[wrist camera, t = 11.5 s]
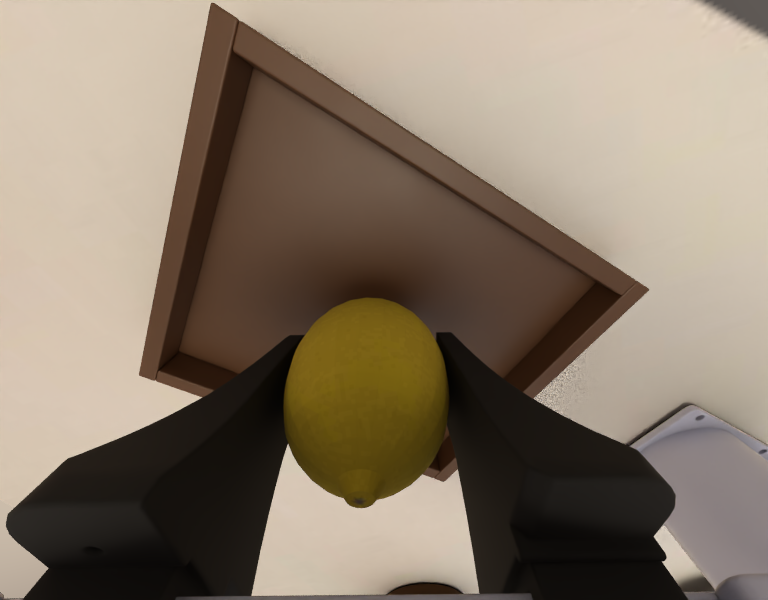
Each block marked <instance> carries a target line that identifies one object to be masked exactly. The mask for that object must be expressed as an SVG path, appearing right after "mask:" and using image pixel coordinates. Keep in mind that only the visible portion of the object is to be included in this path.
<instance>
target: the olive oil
mask: <svg viewBox="0 0 768 600" xmlns="http://www.w3.org/2000/svg"><path fill="white" fill-rule="evenodd" d="M416 594H461V593H460V592H459V591H458V590H456V589H454V588H451V587H448V586H444V585H438V584H416V585H409V586H405V587H401V588H399V589H396V590H394V591H392V592H391V593H389V594H388V595H416Z"/></svg>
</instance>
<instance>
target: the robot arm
mask: <svg viewBox="0 0 768 600" xmlns="http://www.w3.org/2000/svg"><path fill="white" fill-rule="evenodd" d="M303 337H304V335H289V336H288V337H286V338H285V339H284V340H282V341H281V342H280V343H279V344H277V345H276V346H275V347H274V348H272V349H271V350H270V351H269V352H267V353H266V354H265V355H264V356H262V357H261V358H260V359H259V360H257V361H256V362H255V363H253V364H252V365H251V366H249V367H248V368H247V369H245V370H244V371H242V372H241V373H240V374H238V375H237V376H235V377H234V378H233V379H231V380H230V381H228V382H227V383H225V384H224V385H222V386H221V387H219V388H217V389H216V390H214V391H213V392H211V393H209V394H208V395H206V396H204V397H203V398H201V399H199V400H197V401H195V402H194V403H192V404H190V405H188V406H186V407H184V408H182V409H181V410H179V411H177V412H175V413H173V414H171V415H169V416H167V417H165V418H163V419H161V420H159V421H157V422H155V423H153V424H151V425H149V426H146V427H144V428H142V429H140V430H137V431H135V432H133V433H131V434H128V435H126V436H124V437H121V438H119V439H117V440H114V441H112V442H109V443H107V444H104V445H102V446H99V447H97V448H94V449H92V450H89V451H87V452H84V453H82V454H79V455H76V456H74V457H71V458H68V459H67V460H65V461H64V462H63V463H62V464H61V465H60V466H59V467H58V468H57V469H56V470H55V471H54V472H53V473H51V474H50V475H49V476H48V477H47V478H46V479H45V480H44V481H43V482H42V483H41V484H40V485H39V486H37V487H36V488H35V489H34V490H33V491H32V492H31V493H30V494H29V495H28V496H27V497H26V498H25V499H24V500H22V501H21V502H20V503H19V504H18V505H17V506H16V507H15V508H14V509H13V510H12V511H11V512H10V513H9V514H8V516H7V521H6V527H7V530H8V532H9V534H10V535H11V536H12V537H13V538H14V539H15V541H17V542H18V543H19V544H20V545H21V546H22V547H24V548H25V549H26V550H27V551H29V552H30V553H31V554H32V555H33V556H35V557H36V558H37V559H38V560H40V561H41V562H42V563H43V564H44V565H46V566H47V567H48V568H49V569H48V570H47V571H46V572H45V573H44V575H43V576H42V577H41V578H40V579H39V580H38V582H37V583H36V584H35V585H34V587H33V588H32V589H31V590H30V591H29V593H28V594H27V595H26V596H25V597H24V598H16V599H15V598H14V599H13V598H12V599H11V598H10V599H4V595H3V594H2V593H1V592H0V600H768V445H766V444H765V443H763V442H761V441H759V440H757V439H755V438H754V437H752V436H750V435H748V434H746V433H745V432H743V431H741V430H739V429H737V428H736V427H734V426H732V425H730V424H728V423H726V422H725V421H723V420H721V419H719V418H717V417H716V416H714V415H712V414H710V413H708V412H706V411H705V410H703V409H701V408H699V407H697V406H695V405H690V406H687V407H685V408H683V409H682V410H681V411H679V412H678V413H676V414H675V415H673V416H672V417H671V418H669V419H668V420H666V421H665V422H663V423H662V424H661V425H659V426H658V427H656V428H655V429H653V430H652V431H651V432H649V433H648V434H646V435H645V436H643V437H642V438H641V439H639V440H638V441H636V442H635V443H633V444H632V445H631V446H627V445H625V444H622V443H620V442H618V441H616V440H613V439H611V438H609V437H606V436H604V435H602V434H599V433H597V432H595V431H593V430H590V429H588V428H586V427H584V426H582V425H580V424H578V423H576V422H574V421H572V420H570V419H568V418H566V417H564V416H562V415H561V414H559V413H557V412H555V411H553V410H551V409H550V408H548V407H546V406H544V405H543V404H541V403H539V402H538V401H536V400H534V399H533V398H531V397H529V396H528V395H526V394H525V393H523V392H522V391H520V390H519V389H517V388H516V387H514V386H513V385H511V384H510V383H509V382H507V381H506V380H504V379H503V378H502V377H500V376H499V375H498V374H497V373H495V372H494V371H493V370H492V369H490V368H489V367H488V366H487V365H486V364H484V363H483V362H482V361H481V360H480V359H479V358H478V357H476V356H475V355H474V354H473V353H472V352H471V351H470V350H469V349H468V348H467V347H466V346H465V345H464V344H463V343H462V342H461V341H460V340H459V339H458V338H457V337H456V336H455V335H454V334H453V333H452V332H436V342H437V344H438V346H439V348H440V350H441V353H442V355H443V359H444V363H445V368H446V373H447V378H448V385H449V410H448V418H447V427H448V431H449V434H450V437H451V441H452V444H453V448H454V452H455V456H456V461H457V466H458V471H459V476H460V481H461V487H462V492H463V498H464V503H465V508H466V514H467V520H468V525H469V531H470V537H471V543H472V549H473V555H474V561H475V567H476V574H477V580H478V586H479V593H480V594H416V595H314V596H251V594H252V589H253V584H254V579H255V575H256V570H257V565H258V560H259V555H260V550H261V546H262V541H263V537H264V532H265V528H266V524H267V519H268V515H269V511H270V507H271V503H272V499H273V495H274V490H275V486H276V483H277V479H278V475H279V471H280V468H281V464H282V460H283V457H284V454H285V451H286V448H287V445H288V441H287V438H286V434H285V427H284V410H283V406H284V391H285V385H286V380H287V376H288V372H289V369H290V366H291V363H292V359H293V356H294V354H295V351H296V349H297V347H298V345H299V343H300V342H301V340H302V339H303ZM663 524H664V525H665V527H666V528H667V529H668V531H669V532H670V533H671V534H672V536H673V537H674V538H675V539H676V541H677V542H678V543H679V545H680V546H681V547H682V548H683V550H684V551H685V552H686V554H687V555H688V556H689V557H690V559H691V560H692V561H693V562H694V564H695V565H696V566H697V568H698V569H699V570H700V571H701V573H702V574H703V575H704V576H705V578H706V579H707V580H708V582H709V583H710V584H711V585H712V587H713V588H714V589H715V592H683V591H682V590H681V588H680V587H679V586H678V584H677V583H676V581H675V580H674V578H673V577H672V576H671V574H670V573H669V571H668V570H667V569H666V567H665V566H664V564H663V563H662V561H665V560H666V554H665V552H664V551H663V549H662V548H661V547H660V545H659V544H658V542H657V541H656V540H655V538H654V537H653V536H654V535H655V534H656V533H657V531H658V530H659V529H660V528H661V526H662V525H663Z"/></svg>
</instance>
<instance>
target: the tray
mask: <svg viewBox="0 0 768 600" xmlns="http://www.w3.org/2000/svg"><path fill="white" fill-rule="evenodd" d="M648 291H649V289H648V288H647V287H645V286H644V285H642V284H641V283H639V282H638V281H635V280H634V279H633V278H631V277H630V276H628V275H627V274H625V273H624V272H622V271H621V270H619V269H618V268H616V267H615V266H613V265H612V264H610V263H609V262H607V261H606V260H604V259H603V258H601V257H599V256H598V255H596V254H595V253H593V252H592V251H590V250H589V249H587V248H586V247H584V246H583V245H581V244H580V243H578V242H577V241H575V240H574V239H572V238H571V237H569V236H568V235H566V234H564V233H563V232H561V231H560V230H558V229H557V228H555V227H554V226H552V225H551V224H549V223H548V222H546V221H545V220H543V219H542V218H540V217H539V216H537V215H536V214H534V213H533V212H531V211H530V210H528V209H526V208H525V207H523V206H522V205H520V204H519V203H517V202H516V201H514V200H513V199H511V198H510V197H508V196H507V195H505V194H504V193H502V192H501V191H499V190H498V189H496V188H495V187H493V186H491V185H490V184H488V183H487V182H485V181H484V180H482V179H481V178H479V177H478V176H476V175H475V174H473V173H472V172H470V171H469V170H467V169H466V168H464V167H463V166H461V165H460V164H458V163H456V162H455V161H453V160H452V159H450V158H449V157H447V156H446V155H444V154H443V153H441V152H440V151H438V150H437V149H435V148H434V147H432V146H431V145H429V144H428V143H426V142H425V141H423V140H421V139H420V138H418V137H417V136H415V135H414V134H412V133H411V132H409V131H408V130H406V129H405V128H403V127H402V126H400V125H399V124H397V123H396V122H394V121H393V120H391V119H390V118H388V117H387V116H385V115H383V114H382V113H380V112H379V111H377V110H376V109H374V108H373V107H371V106H370V105H368V104H367V103H365V102H364V101H362V100H361V99H359V98H358V97H356V96H355V95H353V94H352V93H350V92H348V91H347V90H345V89H344V88H342V87H341V86H339V85H338V84H336V83H335V82H333V81H332V80H330V79H329V78H327V77H326V76H324V75H323V74H321V73H320V72H318V71H317V70H315V69H313V68H312V67H310V66H309V65H307V64H306V63H304V62H303V61H301V60H300V59H298V58H297V57H295V56H294V55H292V54H291V53H289V52H288V51H286V50H285V49H283V48H282V47H280V46H278V45H277V44H275V43H274V42H272V41H271V40H269V39H268V38H266V37H265V36H263V35H262V34H260V33H259V32H257V31H256V30H254V29H253V28H251V27H250V26H248V25H247V24H245V23H243V22H241V21H239V20H238V19H237V18H236V17H234V16H233V15H231V14H230V13H228V12H227V11H225V10H224V9H222V8H221V7H219V6H218V5H216V4H215V3H211V6H210V11H209V16H208V21H207V26H206V31H205V37H204V42H203V47H202V52H201V57H200V62H199V67H198V73H197V78H196V83H195V88H194V93H193V98H192V104H191V109H190V114H189V119H188V124H187V129H186V135H185V140H184V145H183V150H182V155H181V160H180V166H179V171H178V176H177V181H176V186H175V191H174V196H173V202H172V207H171V212H170V217H169V222H168V227H167V233H166V238H165V243H164V248H163V253H162V258H161V264H160V269H159V274H158V279H157V284H156V289H155V294H154V300H153V305H152V310H151V315H150V320H149V325H148V331H147V336H146V341H145V346H144V351H143V356H142V362H141V367H140V372H139V375H140V376H142V377H145V378H148V379H151V380H154V381H155V380H156V381H157V382H160V383H163V384H166V385H168V386H171V387H174V388H177V389H180V390H183V391H186V392H189V393H191V394H194V395H197V396H200V397H204V396H206V395H208V394H209V393H211V392H213V391H214V390H216V389H217V388H219V387H221V386H222V385H224V384H225V383H227V382H228V381H230V380H231V379H233V378H234V377H235V376H237V375H238V374H240V373H241V372H242V371H244V370H245V369H247V368H248V367H249V366H251V365H252V364H253V363H255V362H256V361H257V360H259V359H260V358H261V357H262V356H264V355H265V354H266V353H267V352H269V351H270V350H271V349H272V348H274V347H275V346H276V345H277V344H279V343H280V342H281V341H282V340H284V339H285V338H286V337H288V336H289V335H304V336H305V335H306V333H307V332H308V331H309V329H310V328H311V326H312V325H313V324H314V323H315V322H316V321H317V320H318V319H319V318H320V317H322V316H323V315H324V314H326V313H327V312H328V311H329V310H331V309H332V308H333V307H336V306H338V305H340V304H343V303H345V302H347V301H350V300H354V299H360V298H381V299H385V300H389V301H392V302H395V303H398V304H400V305H401V306H403V307H405V308H406V309H408V310H410V311H412V312H413V313H414V314H415V315H416V316H417V317H418V318H419V319H420V320H421V321H422V322H423V323H424V324H425V325H426V326H427V327H428V329H429V330H430V332H431V333H432V335H433V337H434V339H435V341H436V332H452V333H453V334H454V335H455V336H456V337H457V338H458V339H459V340H460V341H461V342H462V343H463V344H464V345H465V346H466V347H467V348H468V349H469V350H470V351H471V352H472V353H473V354H474V355H475V356H476V357H478V358H479V359H480V360H481V361H482V362H483V363H484V364H486V365H487V366H488V367H489V368H490V369H492V370H493V371H494V372H495V373H497V374H498V375H499V376H500V377H502V378H503V379H504V380H506V381H507V382H509V383H510V384H511V385H513V386H514V387H516V388H517V389H519V390H520V391H522V392H523V393H525V394H526V395H528V396H529V397H531V398H534V397H535V396H536V395H537V394H538V393H540V392H541V391H542V390H543V389H544V388H545V387H546V386H547V385H548V384H549V383H550V382H551V381H552V380H553V379H554V378H556V377H557V376H558V375H559V374H560V373H561V372H562V371H563V370H564V369H565V368H566V367H567V366H568V365H569V364H571V363H572V362H573V361H574V360H575V359H576V358H577V357H578V356H579V355H580V354H581V353H582V352H583V351H584V350H586V349H587V348H588V347H589V346H590V345H591V344H592V343H593V342H594V341H595V340H596V339H597V338H598V337H599V336H600V335H602V334H603V333H604V332H605V331H606V330H607V329H608V328H609V327H610V326H611V325H612V324H613V323H614V322H615V321H617V320H618V319H619V318H620V317H621V316H622V315H623V314H624V313H625V312H626V311H627V310H628V309H629V308H630V307H632V306H633V305H634V304H635V303H636V302H637V301H638V300H639V299H640V298H641V297H642V296H643V295H644V294H645V293H646V292H648ZM457 469H458V466H457V461H456V456H455V452H454V448H453V444H452V441H451V437H450V434H449V431H448V427H447V425H446V431H445V435H444V439H443V442H442V444H441V446H440V448H439V450H438V452H437V454H436V456H435V458H434V460H433V462H432V463H431V464H430V466H429V467H428V468H427V470H426V471H425V472H424V473H423V475H426V476H429V477H432V478H435V479H437V480H440V481H443V482H444V481H445V480H446V479H448V478H449V477H450V476H451V475H452V474H453V473H454V472H455V471H456V470H457Z"/></svg>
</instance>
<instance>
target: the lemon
mask: <svg viewBox="0 0 768 600" xmlns="http://www.w3.org/2000/svg"><path fill="white" fill-rule="evenodd" d="M283 410H284V427H285V434H286V438H287V441H288V444H289V446H290V449H291V451H292V454H293V456H294V458H295V459H296V461H297V463H298V465H299V466H300V467H301V468H302V469H303V471H304V472H305V473H306V474H307V475H308V476H309V477H310V479H311V480H312V481H313V482H315V483H316V484H318V485H319V486H320V487H322V488H323V489H325V490H326V491H327V492H329V493H331V494H333V495H336V496H338V497H341V498H344V499H345V501H346V502H347V504H349V505H350V506H352V507H356V508H366V507H369V506H371V505H372V504H373V503H374V502H375V501H376V500H378V499H383V498H386V497H389V496H392V495H394V494H396V493H398V492H400V491H401V490H403V489H405V488H406V487H408V486H410V485H411V484H412V483H413V482H414V481H416V480H417V479H418V478H419V477H420V476H421V475H422V474H423V473H424V472H425V471H426V470H427V468H428V467H429V466H430V464H431V463H432V462H433V460H434V458H435V456H436V454H437V452H438V450H439V448H440V446H441V444H442V442H443V439H444V435H445V431H446V425H447V418H448V410H449V385H448V378H447V373H446V368H445V363H444V359H443V355H442V353H441V350H440V348H439V346H438V344H437V342H436V341H435V339H434V337H433V335H432V333H431V332H430V330H429V329H428V327H427V326H426V325H425V324H424V323H423V322H422V321H421V320H420V319H419V318H418V317H417V316H416V315H415V314H414V313H413V312H412V311H410V310H408V309H406V308H405V307H403V306H401V305H400V304H398V303H395V302H392V301H389V300H385V299H381V298H360V299H354V300H350V301H347V302H345V303H343V304H340V305H338V306H336V307H333V308H332V309H331V310H329V311H328V312H327V313H326V314H324V315H323V316H322V317H320V318H319V319H318V320H317V321H316V322H315V323H314V324H313V325H312V326H311V328H310V329H309V331H308V332H307V333H306V335H305V336H304V337H303V339H302V340H301V342H300V343H299V345H298V347H297V349H296V351H295V354H294V356H293V359H292V363H291V366H290V369H289V372H288V376H287V380H286V385H285V391H284V406H283Z"/></svg>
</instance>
